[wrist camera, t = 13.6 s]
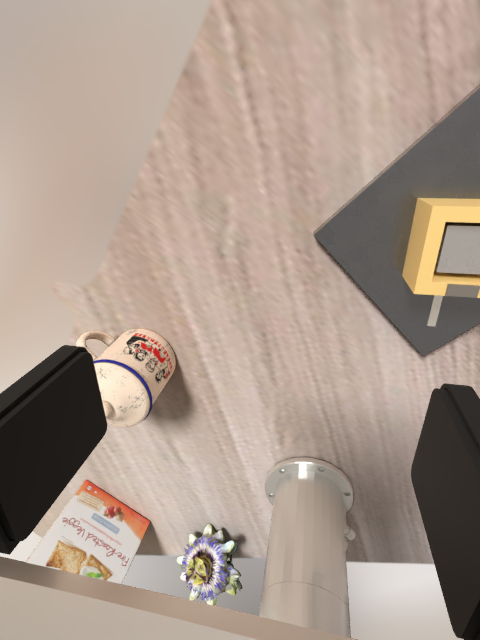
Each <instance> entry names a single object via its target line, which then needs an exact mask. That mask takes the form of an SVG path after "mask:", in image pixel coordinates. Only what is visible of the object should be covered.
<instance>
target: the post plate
mask: <svg viewBox="0 0 480 640" xmlns="http://www.w3.org/2000/svg"><path fill="white" fill-rule="evenodd" d="M417 198H450V199H480V85H478V86H477V87H476V88H475V89H474V90H473V91H472V92H471V93H469V94H468V95H467V96H466V97H465V98H464V99H463V100H462V101H460V102H459V103H458V104H457V105H456V106H455V107H454V108H453V109H451V110H450V111H449V112H448V113H447V114H446V115H445V116H444V117H442V118H441V119H440V120H439V121H438V122H437V123H436V124H435V125H433V126H432V127H431V128H430V129H429V130H428V131H427V132H426V133H424V134H423V135H422V136H421V137H420V138H419V139H418V140H417V141H415V142H414V143H413V144H412V145H411V146H410V147H409V148H408V149H406V150H405V151H404V152H403V153H402V154H401V155H400V156H399V157H398V158H396V159H395V160H394V161H393V162H392V163H391V164H390V165H389V166H387V167H386V168H385V169H384V170H383V171H382V172H381V173H380V174H378V175H377V176H376V177H375V178H374V179H373V180H372V181H371V182H369V183H368V184H367V185H366V186H365V187H364V188H363V189H362V190H360V191H359V192H358V193H357V194H356V195H355V196H354V197H353V198H351V199H350V200H349V201H348V202H347V203H346V204H345V205H344V206H342V207H341V208H340V209H339V210H338V211H337V212H336V213H335V214H333V215H332V216H331V217H330V218H329V219H328V220H327V221H326V222H324V223H323V224H322V225H321V226H320V227H319V228H318V229H317V230H315V231H314V236H315V237H316V238H317V240H318V241H319V242H320V243H321V244H322V245H323V246H324V247H325V248H326V249H327V251H328V252H329V253H330V254H331V255H332V256H333V257H334V258H335V259H336V261H337V262H338V263H339V264H340V265H341V266H342V267H343V268H344V269H345V270H346V272H347V273H348V274H349V275H350V276H351V277H352V278H353V279H354V280H355V282H356V283H357V284H358V285H359V286H360V287H361V288H362V289H363V290H364V291H365V293H366V294H367V295H368V296H369V297H370V298H371V299H372V300H373V301H374V303H375V304H376V305H377V306H378V307H379V308H380V309H381V310H382V311H383V312H384V314H385V315H386V316H387V317H388V318H389V319H390V320H391V321H392V322H393V324H394V325H395V326H396V327H397V328H398V329H399V330H400V331H401V332H402V333H403V335H404V336H405V337H406V338H407V339H408V340H409V341H410V342H411V343H412V345H413V346H414V347H415V348H416V349H417V350H418V351H419V352H420V353H421V354H422V356H425V355H427V354H428V353H430V352H432V351H433V350H435V349H437V348H439V347H440V346H442V345H444V344H445V343H447V342H449V341H450V340H452V339H454V338H455V337H457V336H459V335H461V334H462V333H464V332H466V331H467V330H469V329H471V328H472V327H474V326H476V325H477V324H479V323H480V298H471V297H455V296H440V295H424V294H413V292H412V290H411V289H410V287H409V286H408V284H407V283H406V281H405V279H404V278H403V276H402V274H403V269H404V264H405V259H406V254H407V249H408V244H409V238H410V233H411V228H412V223H413V218H414V213H415V208H416V203H417ZM434 270H435V271H436V272H440V273H461V274H480V223H466V222H446V223H445V227H444V231H443V235H442V240H441V244H440V248H439V252H438V257H437V261H436V265H435V269H434Z"/></svg>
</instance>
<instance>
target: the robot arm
mask: <svg viewBox="0 0 480 640" xmlns="http://www.w3.org/2000/svg"><path fill="white" fill-rule="evenodd" d="M106 430H107V420H106V416H105V411H104V407H103V402H102V398H101V393H100V389H99V384H98V380H97V375H96V371H95V366H94V362H93V357H92V355H91V354H90V353H89V352H88V351H87V349H86V348H84V347H78V346H69V345H64V346H62V347H61V348H59V349H58V350H57V351H55V352H54V353H53V354H51V355H50V356H49V357H47V358H46V359H45V360H44V361H42V362H41V363H40V364H38V365H37V366H36V367H35V368H33V369H32V370H31V371H29V372H28V373H27V374H25V375H24V376H23V377H21V378H20V379H19V380H18V381H16V382H15V383H14V384H12V385H11V386H10V387H9V388H7V389H6V390H5V391H3V392H2V393H1V394H0V553H5V554H11V552H12V551H13V550H14V548H15V547H16V546H17V544H18V543H19V542H20V541H23V540H24V539H26V538H27V537H28V536H29V535H30V533H31V532H32V531H33V529H34V528H35V527H36V525H37V524H38V523H39V521H40V520H41V519H42V517H43V516H44V515H45V513H46V512H47V511H48V509H49V508H50V507H51V506H52V504H53V503H54V502H55V500H56V499H57V498H58V496H59V495H60V494H61V492H62V491H63V490H64V488H65V487H66V486H67V484H68V483H69V482H70V480H71V479H72V478H73V476H74V475H75V474H76V472H77V471H78V470H79V468H80V467H81V466H82V464H83V463H84V462H85V460H86V459H87V458H88V456H89V455H90V454H91V452H92V451H93V450H94V448H95V447H96V446H97V444H98V443H99V442H100V440H101V439H102V438H103V436H104V435H105V433H106ZM411 477H412V483H413V487H414V490H415V494H416V498H417V501H418V505H419V509H420V512H421V516H422V520H423V523H424V527H425V531H426V534H427V538H428V541H429V545H430V549H431V552H432V556H433V560H434V563H435V567H436V571H437V574H438V578H439V581H440V585H441V589H442V592H443V596H444V600H445V603H446V607H447V611H448V614H449V618H450V621H451V625H452V628H453V631H454V633H455V635H456V636H457V637H458V638H462V639H464V640H480V399H479V397H478V396H477V394H476V392H475V391H474V389H473V388H472V387H470V386H464V385H454V384H443V385H442V386H441V388H440V389H434V390H433V392H432V395H431V398H430V402H429V406H428V409H427V413H426V417H425V420H424V424H423V428H422V431H421V435H420V439H419V442H418V446H417V450H416V453H415V457H414V460H413V464H412V469H411ZM265 491H266V495H267V498H268V499H269V501H270V503H271V504H272V505H273V511H272V519H271V526H270V534H269V542H268V549H267V557H266V565H265V572H264V580H263V588H262V595H261V604H260V612H259V616H255V615H251V614H247V613H242V612H238V611H234V610H230V609H226V608H221V607H217V606H213V605H209V604H204V603H199V602H196V601H192V600H187V599H183V598H179V597H174V596H170V595H166V594H161V593H157V592H152V591H148V590H144V589H140V588H136V587H131V586H127V585H123V584H118V583H114V582H110V581H105V580H101V579H97V578H92V577H88V576H84V575H79V574H75V573H71V572H66V571H62V570H57V569H53V568H49V567H44V566H40V565H35V564H31V563H26V562H22V561H17V560H13V559H9V558H4V557H0V640H356V639H352V638H351V633H350V617H349V601H348V585H347V569H346V552H345V551H346V550H347V548H348V541H347V540H346V539H345V536H346V537H347V538H348V539H349V540H353V539H354V538H355V536H356V533H355V531H353V530H352V529H351V528H350V527H349V526H347V521H346V513H347V512H348V511H349V509H350V508H351V506H352V503H353V489H352V485H351V483H350V481H349V479H348V478H347V476H346V475H345V474H344V473H343V472H342V471H341V470H340V469H338V468H337V467H335V466H334V465H332V464H329V463H327V462H325V461H322V460H319V459H314V458H305V457H299V458H291V459H288V460H284V461H282V462H280V463H278V464H277V465H275V466H274V467H273V468H272V469H271V470H270V472H269V473H268V475H267V478H266V483H265ZM344 535H345V536H344Z"/></svg>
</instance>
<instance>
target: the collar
mask: <svg viewBox="0 0 480 640" xmlns="http://www.w3.org/2000/svg"><path fill="white" fill-rule="evenodd" d="M446 222H466V223H480V199H450V198H417V203H416V208H415V213H414V218H413V223H412V228H411V233H410V238H409V244H408V249H407V254H406V259H405V264H404V269H403V274H402V276H403V278H404V279H405V281H406V283H407V284H408V286H409V287H410V289H411V290H412V292H413V294H424V295H440V296H455V297H471V298H480V274H461V273H440V272H436V271H435V270H434V269H435V265H436V261H437V257H438V252H439V248H440V244H441V240H442V235H443V231H444V227H445V223H446Z"/></svg>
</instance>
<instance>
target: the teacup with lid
mask: <svg viewBox="0 0 480 640" xmlns="http://www.w3.org/2000/svg"><path fill="white" fill-rule="evenodd" d="M87 339H98V340H100V341H102V342H104V343H105V344H106V345H108V346H109V347H108V348H107V349H106V350H105V351H104V352H103V353H102V354H101V355H100V356H99V357H96V356H95V355H94V354H93V353H92V352H91V351H90V350H89V349H88V348H87V346H86V342H85V341H86V340H87ZM76 346H78V347H84V348H86V349H87V351H88V352H89V353H90V354H91V355H92V357H93V362H94V366H95V371H96V375H97V380H98V384H99V389H100V393H101V398H102V402H103V407H104V411H105V416H106V420H107V424H109V425H112V426H117V427H129V426H133V425H136V424H138V423H140V422H141V421H143V420H144V419H145V418H146V417H147V416H148V415H149V413H150V411H151V409H152V405H153V403H154V402H155V400H156V399H157V397H158V396H159V394H160V393H161V391H162V390H163V388H164V387H165V385H166V384H167V382H168V380H169V379H170V377H171V376H172V374H173V372H174V370H175V365H176V360H175V355H174V352H173V350H172V348H171V347H170V345H169V344H168V343H167V341H166V340H165V339H163V338H162V337H161V336H160V335H158V334H156V333H154V332H152V331H149V330H146V329H132V330H129V331H127V332H125V333H123V334H122V335H121V336H120V337H119V338H118V339H117V340H115V339H113V338H112V337H111V336H110V335H108V334H106V333H104V332H102V331H88V332H86V333H84V334H83V335H81V336H80V337H79V339H78V340H77V343H76Z"/></svg>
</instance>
